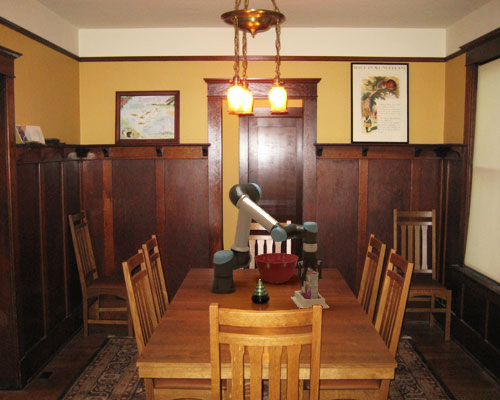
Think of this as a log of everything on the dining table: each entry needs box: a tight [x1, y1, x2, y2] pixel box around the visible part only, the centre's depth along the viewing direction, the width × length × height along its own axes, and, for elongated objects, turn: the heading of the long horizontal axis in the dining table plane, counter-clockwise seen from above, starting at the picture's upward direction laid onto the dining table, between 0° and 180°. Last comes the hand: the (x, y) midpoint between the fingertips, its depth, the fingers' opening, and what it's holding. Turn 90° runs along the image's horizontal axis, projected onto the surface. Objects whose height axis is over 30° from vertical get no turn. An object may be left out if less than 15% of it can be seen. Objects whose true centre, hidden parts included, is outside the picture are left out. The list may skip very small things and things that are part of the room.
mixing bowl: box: [253, 252, 299, 284], centre depth 300 cm, size 28×28×15 cm
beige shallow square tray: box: [290, 290, 330, 310], centre depth 257 cm, size 16×20×4 cm
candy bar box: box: [300, 267, 319, 299], centre depth 256 cm, size 11×5×16 cm, turn 21°
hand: (309, 291), depth 257 cm, fingers closed on candy bar box, 6 cm apart
